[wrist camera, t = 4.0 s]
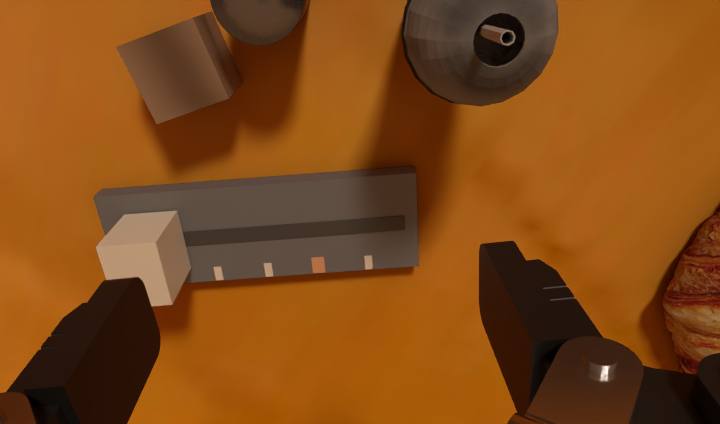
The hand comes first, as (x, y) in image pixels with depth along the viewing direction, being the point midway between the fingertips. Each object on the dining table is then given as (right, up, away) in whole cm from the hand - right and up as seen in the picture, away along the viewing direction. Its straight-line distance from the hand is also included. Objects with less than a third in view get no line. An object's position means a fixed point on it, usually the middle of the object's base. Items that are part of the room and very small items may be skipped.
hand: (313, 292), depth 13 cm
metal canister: (-5, +16, +22) cm, 28 cm away
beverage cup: (+6, +16, +23) cm, 29 cm away
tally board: (-6, +1, +29) cm, 30 cm away
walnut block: (-10, +12, +24) cm, 29 cm away
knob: (-14, 0, +28) cm, 31 cm away
